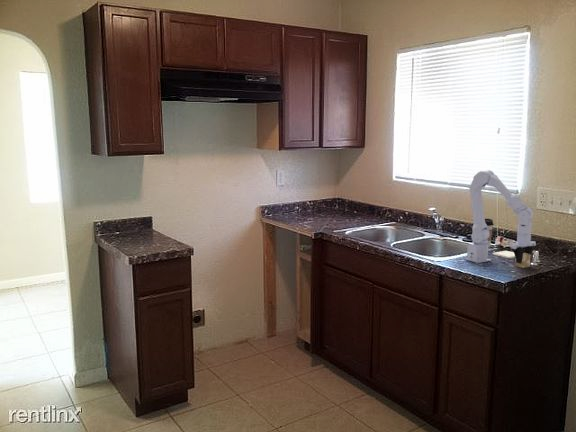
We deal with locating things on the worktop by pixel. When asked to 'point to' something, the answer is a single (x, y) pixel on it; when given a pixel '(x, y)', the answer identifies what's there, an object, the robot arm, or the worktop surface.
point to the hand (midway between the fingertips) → (522, 262)
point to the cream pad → (505, 254)
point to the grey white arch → (535, 258)
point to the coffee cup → (489, 226)
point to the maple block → (524, 261)
